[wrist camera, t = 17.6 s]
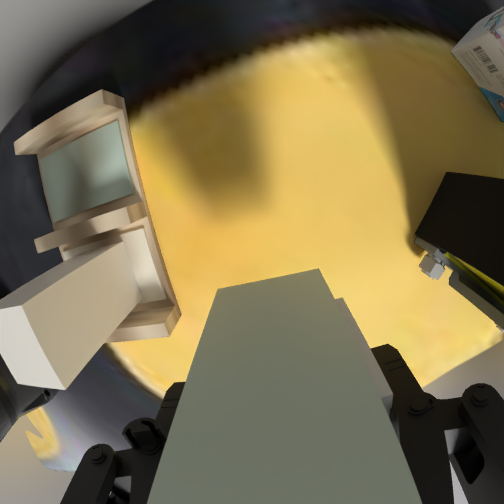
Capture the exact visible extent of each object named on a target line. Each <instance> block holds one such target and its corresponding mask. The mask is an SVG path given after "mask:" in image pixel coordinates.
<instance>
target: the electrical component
mask: <svg viewBox="0 0 504 504" xmlns="http://www.w3.org/2000/svg"><path fill="white" fill-rule="evenodd" d="M415 234H416V235H417V238H416V240H415V243H416V244H417V245H419V246H420V247H422V248H423V249H424V250H426V251H427V252H428V254H427V255H425V256H424V258H423V259H422V261H421V263H420V264H419V267H420V268H421V269H422V270H421V271H422V272H424V273H425V274H426V275H428V276H429V277H431V278H432V279H434V278H435V279H437V280H439V278H440V277H441V275H442V273H443V272H444V270H445V268H444V266H445V265H446V266H447V267H448V268H449V269H451V270H452V271H453V272H452V274H451V276H450V277H449V285H450V286H451V287H452V288H454V289H455V290H456V291H457V292H459V293H460V294H461V295H463V296H464V297H465V298H466V299H467V300H469V301H470V302H471V303H472V304H474V305H475V306H476V307H477V308H478V309H480V310H481V311H482V312H483V313H484V314H486V315H487V316H488V317H489V318H490V319H491V320H493V321H494V322H495V324H496V325H497V326H496V327H498V328H499V329H500V330H501V331H502V332H503V333H504V179H499V178H493V177H486V176H478V175H470V174H462V173H453V172H446V174H445V176H444V178H443V181H442V183H441V185H440V187H439V189H438V191H437V193H436V195H435V197H434V199H433V201H432V203H431V205H430V206H429V208H428V210H427V212H426V214H425V216H424V218H423V220H422V221H421V223H420V225H419V227H418V229H417V230H416V232H415Z"/></svg>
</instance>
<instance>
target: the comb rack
mask: <svg viewBox="0 0 504 504" xmlns="http://www.w3.org/2000/svg"><path fill="white" fill-rule="evenodd" d="M14 147H15V155H24V154H37V157H38V163H39V169H40V174H41V179H42V184H43V189H44V193H45V198H46V202H47V206H48V210H49V214H50V218H51V221H52V225H53V229H54V232H52V233H49V234H47V235H45V236H42V237H40V238H37V239H35V240H34V242H35V245H36V248H37V251H38V253H40V252H43V251H46V250H49V249H52V248H55V247H58V246H59V249H60V252H61V255H62V258H63V261H66V260H68V259H70V258H71V257H73V256H75V255H77V254H79V253H82V252H86V251H89V250H93V249H96V248H100V247H103V246H107V245H111V244H114V243H118V242H122V241H124V245H125V248H126V251H127V254H128V257H129V260H130V263H131V266H132V269H133V272H134V275H135V278H136V281H137V284H138V287H139V289H140V292H141V295H142V299H141V300H140V302H139V303H138V304H137V305H136V306H135V307H134V308H133V310H132V311H131V312H130V313H129V314H128V315H127V316H126V318H125V319H124V320H123V321H122V322H121V323H120V324H119V326H118V327H117V328H116V329H115V330H114V331H113V333H112V334H111V335H110V336H109V337H108V339H107V340H106V341H105V342H104V343H110V342H122V341H134V340H144V339H154V338H163V337H170V335H171V333H172V331H173V329H174V327H175V326H176V324H177V322H178V320H179V318H180V317H181V315H182V314H181V312H180V309H179V306H178V303H177V300H176V297H175V294H174V291H173V288H172V285H171V282H170V279H169V276H168V273H167V270H166V267H165V264H164V261H163V257H162V254H161V251H160V248H159V244H158V241H157V237H156V234H155V231H154V227H153V223H152V220H151V216H150V213H149V209H148V205H147V201H146V198H145V194H144V190H143V186H142V182H141V178H140V174H139V169H138V165H137V161H136V156H135V152H134V147H133V143H132V138H131V133H130V128H129V123H128V118H127V112H126V107H125V101H124V98H123V97H120V96H118V95H115V94H113V93H110V92H108V91H105V90H103V89H101V90H99V91H97V92H95V93H93V94H91V95H89V96H87V97H85V98H84V99H82V100H80V101H78V102H76V103H74V104H73V105H71V106H69V107H67V108H66V109H64V110H62V111H60V112H59V113H57V114H55V115H54V116H52V117H51V118H49V119H47V120H46V121H44V122H43V123H41V124H40V125H38V126H37V127H35V128H34V129H32V130H31V131H29V132H28V133H26V134H25V135H23V136H22V137H21V138H19V139H18V140H16V141H15V142H14Z"/></svg>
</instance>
